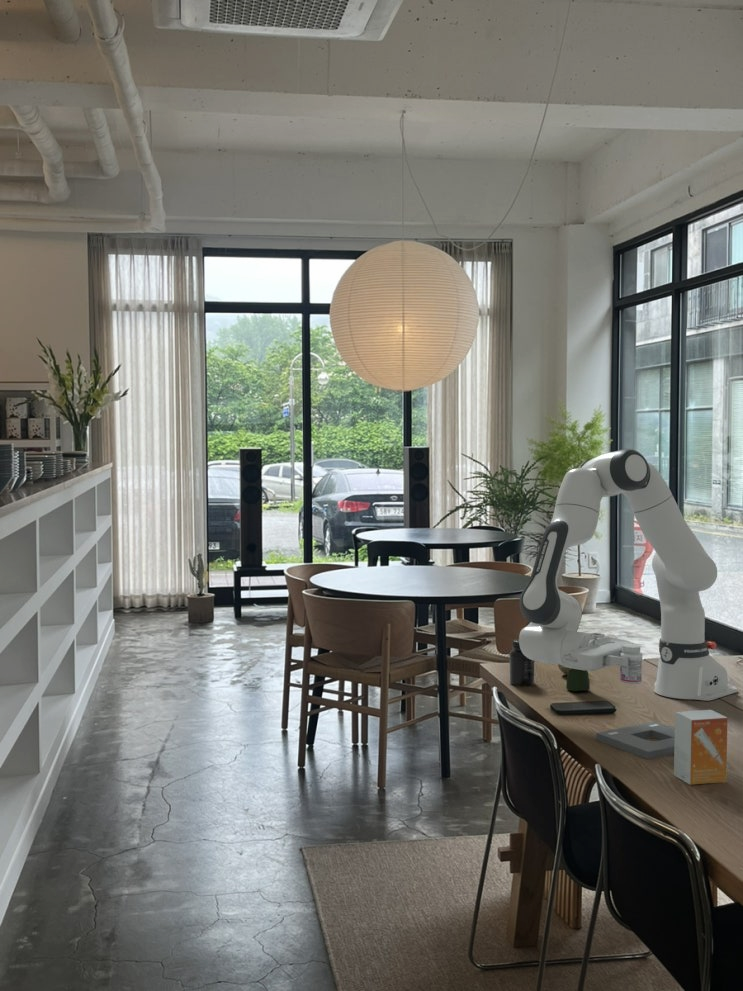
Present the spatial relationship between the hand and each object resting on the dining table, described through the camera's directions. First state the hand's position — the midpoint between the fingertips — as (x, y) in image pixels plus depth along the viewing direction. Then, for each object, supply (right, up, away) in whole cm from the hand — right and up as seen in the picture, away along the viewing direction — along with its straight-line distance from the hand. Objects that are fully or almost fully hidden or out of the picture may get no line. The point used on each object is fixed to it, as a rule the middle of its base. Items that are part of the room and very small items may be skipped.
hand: (634, 659), depth 226 cm
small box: (+5, -19, -31) cm, 36 cm away
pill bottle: (-1, -5, +1) cm, 6 cm away
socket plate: (+2, -17, -7) cm, 19 cm away
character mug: (-5, -15, +40) cm, 43 cm away
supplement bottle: (-19, -15, +48) cm, 54 cm away
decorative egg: (-3, -14, +58) cm, 59 cm away
